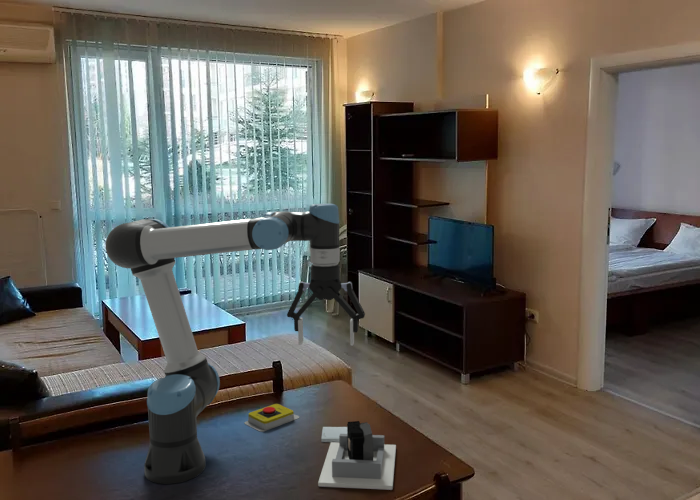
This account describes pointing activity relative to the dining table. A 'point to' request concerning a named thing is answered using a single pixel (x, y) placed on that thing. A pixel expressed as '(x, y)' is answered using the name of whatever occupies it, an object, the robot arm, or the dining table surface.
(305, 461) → the dining table surface
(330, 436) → the hard drive
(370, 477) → the housing
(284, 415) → the emergency button
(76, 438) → the dining table surface
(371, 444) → the cpu cooler
